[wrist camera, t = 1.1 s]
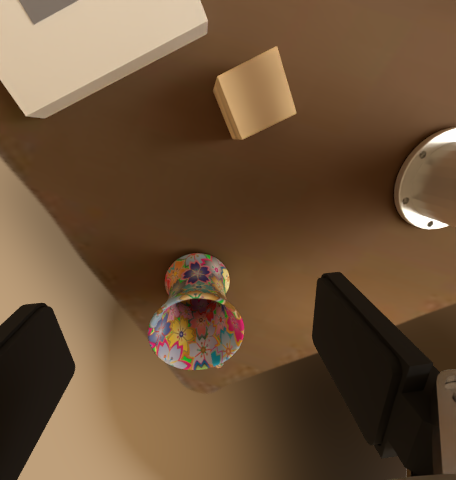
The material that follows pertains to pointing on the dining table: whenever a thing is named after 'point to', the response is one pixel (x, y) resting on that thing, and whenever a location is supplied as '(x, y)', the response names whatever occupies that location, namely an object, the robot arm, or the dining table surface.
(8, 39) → the base board
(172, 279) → the mug
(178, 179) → the dining table surface
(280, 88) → the maple block
